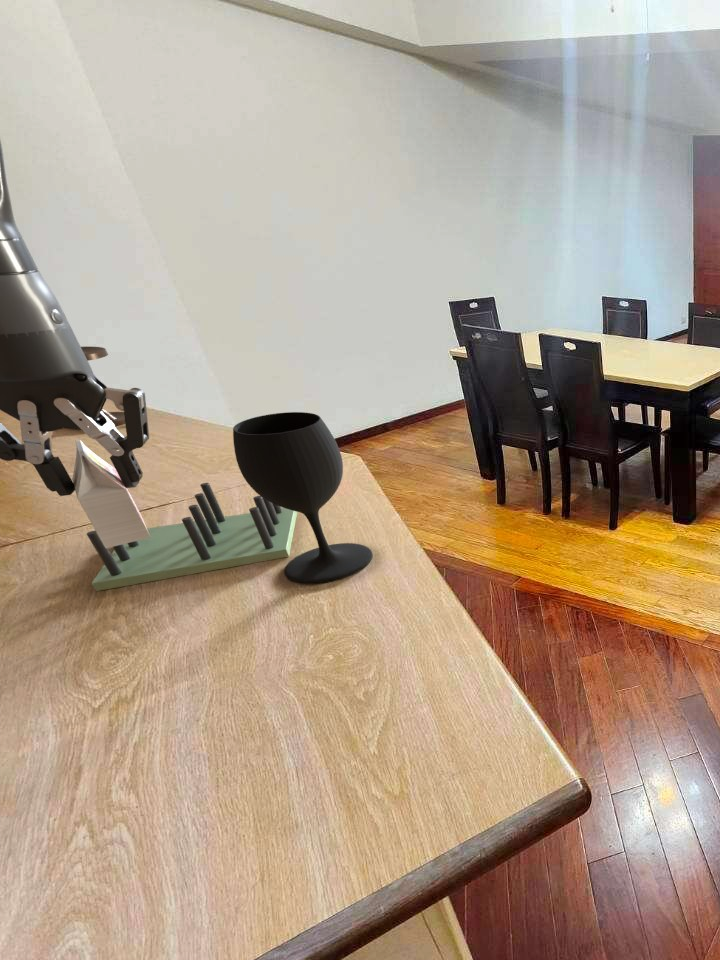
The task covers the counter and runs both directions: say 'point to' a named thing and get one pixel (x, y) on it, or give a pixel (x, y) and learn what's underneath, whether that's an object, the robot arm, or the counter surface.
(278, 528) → the rack
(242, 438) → the wine glass
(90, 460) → the white milk carton
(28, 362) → the robot arm
